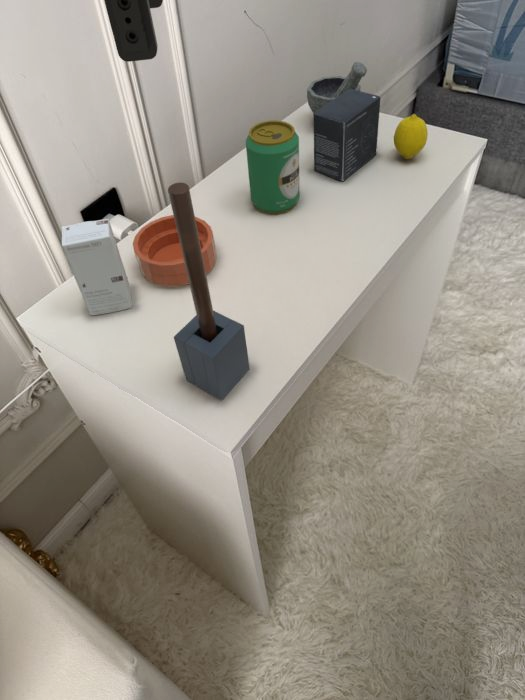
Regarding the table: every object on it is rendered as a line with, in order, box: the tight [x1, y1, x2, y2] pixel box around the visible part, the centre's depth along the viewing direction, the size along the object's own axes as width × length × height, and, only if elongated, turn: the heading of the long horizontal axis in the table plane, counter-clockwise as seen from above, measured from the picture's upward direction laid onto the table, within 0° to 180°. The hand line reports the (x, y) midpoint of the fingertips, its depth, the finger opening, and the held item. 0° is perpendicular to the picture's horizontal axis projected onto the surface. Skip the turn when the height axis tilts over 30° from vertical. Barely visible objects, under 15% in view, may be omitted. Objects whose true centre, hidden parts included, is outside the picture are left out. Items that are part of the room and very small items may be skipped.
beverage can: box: [245, 119, 300, 215], centre depth 82 cm, size 8×8×12 cm
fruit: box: [393, 113, 429, 160], centre depth 89 cm, size 6×6×8 cm
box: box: [312, 89, 381, 182], centre depth 89 cm, size 11×7×10 cm, turn 139°
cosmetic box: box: [61, 218, 133, 316], centre depth 69 cm, size 6×4×12 cm
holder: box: [173, 310, 251, 402], centre depth 61 cm, size 6×6×8 cm
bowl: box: [132, 214, 217, 287], centre depth 76 cm, size 11×11×4 cm
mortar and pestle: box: [306, 61, 368, 114], centre depth 97 cm, size 11×9×12 cm
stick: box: [167, 182, 218, 342], centre depth 54 cm, size 2×2×26 cm
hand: (144, 30), depth 33 cm, fingers open, 8 cm apart
